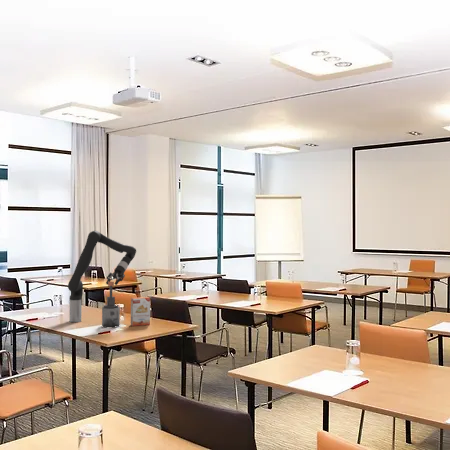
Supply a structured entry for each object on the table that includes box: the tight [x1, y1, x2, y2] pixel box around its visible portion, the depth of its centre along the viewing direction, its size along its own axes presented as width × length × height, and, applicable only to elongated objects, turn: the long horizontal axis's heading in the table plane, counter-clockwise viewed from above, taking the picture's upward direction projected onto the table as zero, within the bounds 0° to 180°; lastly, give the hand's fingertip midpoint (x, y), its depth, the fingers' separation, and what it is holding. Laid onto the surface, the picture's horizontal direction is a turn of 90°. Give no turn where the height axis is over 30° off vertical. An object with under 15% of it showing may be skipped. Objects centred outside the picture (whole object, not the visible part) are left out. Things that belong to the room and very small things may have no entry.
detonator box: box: [101, 295, 121, 328], centre depth 400 cm, size 18×13×22 cm
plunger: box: [107, 280, 115, 297], centre depth 402 cm, size 4×4×12 cm
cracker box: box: [130, 296, 151, 327], centre depth 406 cm, size 14×6×21 cm, turn 117°
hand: (111, 284), depth 402 cm, fingers open, 8 cm apart
